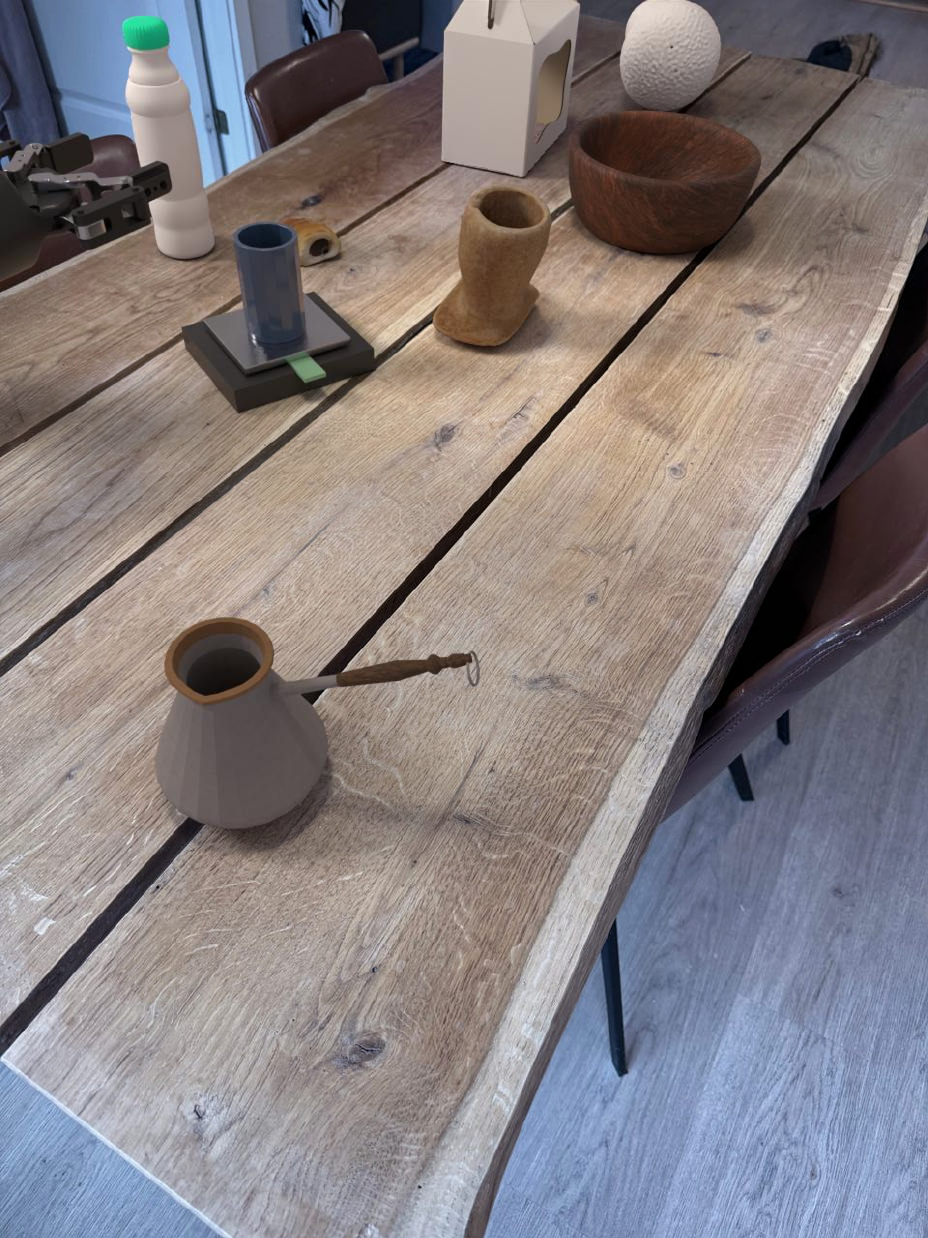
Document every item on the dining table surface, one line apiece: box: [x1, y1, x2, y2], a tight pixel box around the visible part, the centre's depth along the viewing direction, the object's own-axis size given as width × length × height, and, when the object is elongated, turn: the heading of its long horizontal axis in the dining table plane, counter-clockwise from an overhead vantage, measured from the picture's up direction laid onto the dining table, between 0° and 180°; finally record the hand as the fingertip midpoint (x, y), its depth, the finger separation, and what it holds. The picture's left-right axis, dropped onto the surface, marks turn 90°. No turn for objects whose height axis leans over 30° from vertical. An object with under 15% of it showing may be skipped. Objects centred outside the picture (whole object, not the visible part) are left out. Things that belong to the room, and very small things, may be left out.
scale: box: [180, 291, 376, 413], centre depth 97 cm, size 16×16×3 cm
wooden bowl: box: [567, 110, 762, 255], centre depth 122 cm, size 25×25×10 cm
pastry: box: [281, 217, 342, 267], centre depth 115 cm, size 9×7×4 cm
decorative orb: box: [619, 0, 722, 112], centre depth 150 cm, size 20×18×16 cm
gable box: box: [440, 0, 581, 178], centre depth 132 cm, size 22×13×28 cm, turn 159°
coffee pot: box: [154, 616, 481, 830], centre depth 58 cm, size 21×12×15 cm, turn 85°
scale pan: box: [202, 291, 351, 375], centre depth 96 cm, size 12×11×1 cm
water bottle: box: [121, 15, 215, 260], centre depth 106 cm, size 7×7×25 cm
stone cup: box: [432, 183, 553, 347], centre depth 100 cm, size 15×12×15 cm
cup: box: [232, 221, 306, 344], centre depth 92 cm, size 6×6×10 cm
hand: (126, 160), depth 70 cm, fingers open, 8 cm apart
